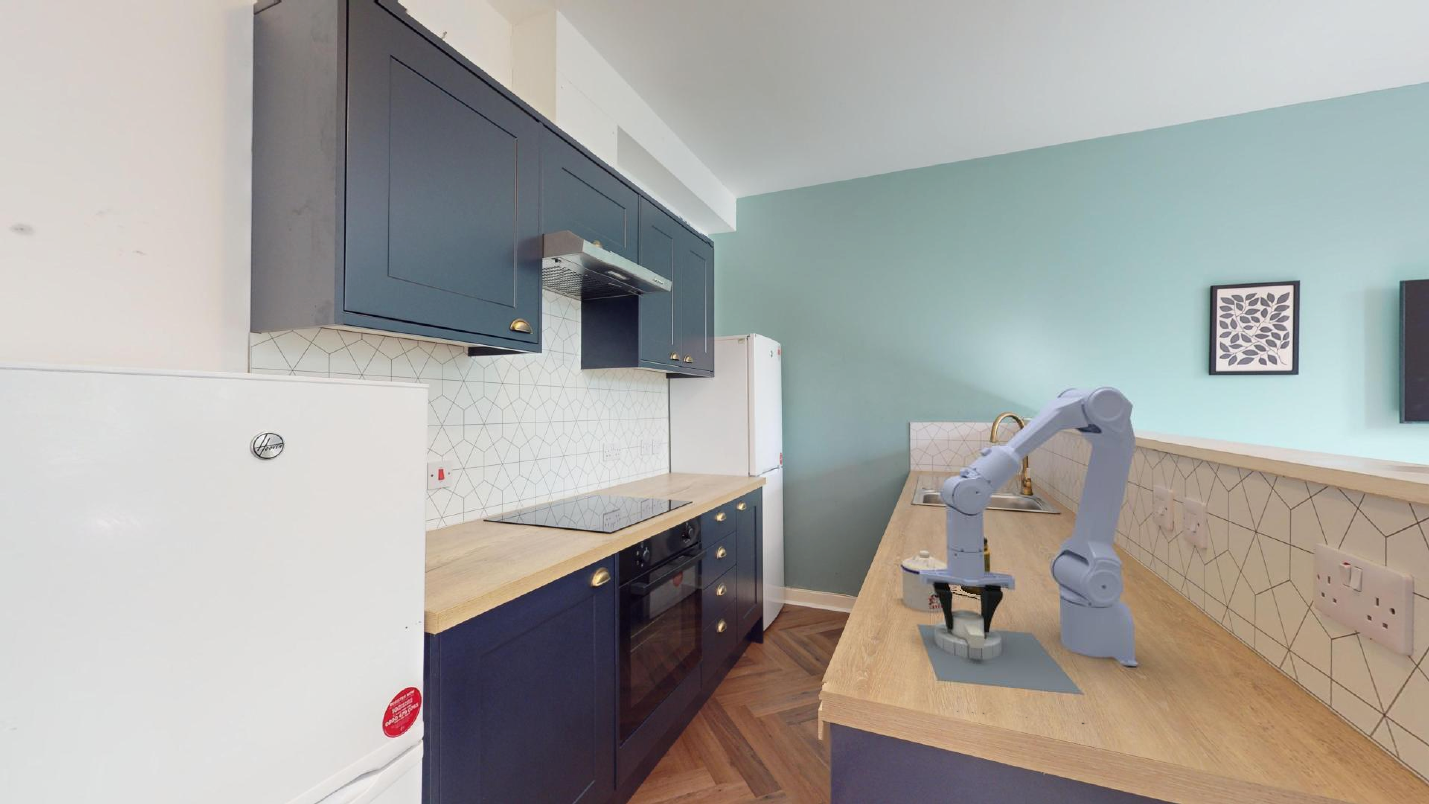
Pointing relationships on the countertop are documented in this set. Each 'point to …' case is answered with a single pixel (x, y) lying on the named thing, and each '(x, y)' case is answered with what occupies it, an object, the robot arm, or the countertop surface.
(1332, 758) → the countertop surface
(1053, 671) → the stand
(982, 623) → the cream post on cylinder
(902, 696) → the countertop surface
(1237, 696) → the countertop surface
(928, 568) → the teacup with lid
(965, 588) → the condiment
